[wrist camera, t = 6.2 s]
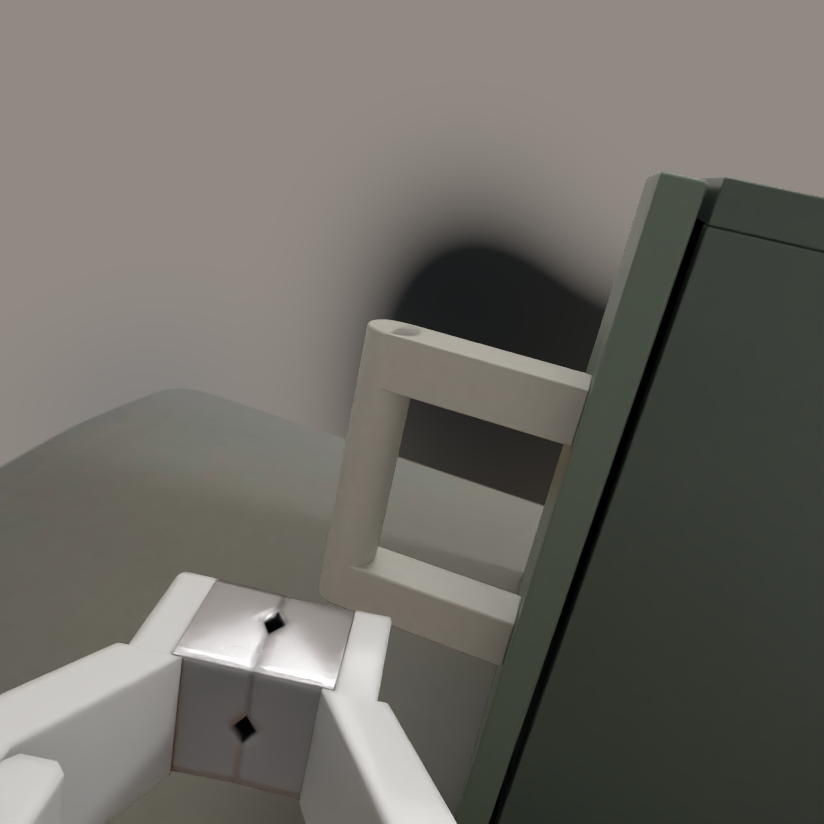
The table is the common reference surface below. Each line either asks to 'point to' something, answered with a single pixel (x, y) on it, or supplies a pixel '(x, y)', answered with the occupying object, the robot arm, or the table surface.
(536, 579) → the cabinet door
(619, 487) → the green cabinet
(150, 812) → the table surface
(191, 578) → the robot arm
